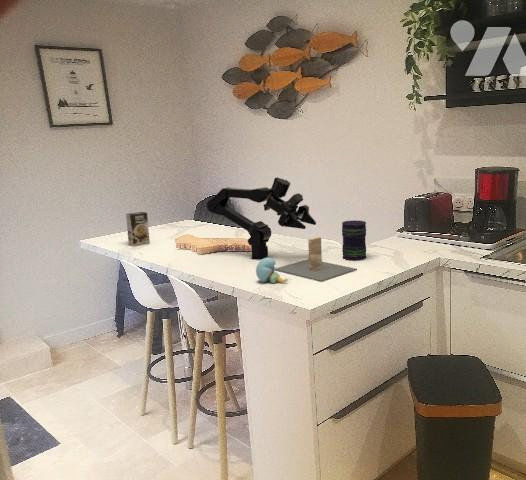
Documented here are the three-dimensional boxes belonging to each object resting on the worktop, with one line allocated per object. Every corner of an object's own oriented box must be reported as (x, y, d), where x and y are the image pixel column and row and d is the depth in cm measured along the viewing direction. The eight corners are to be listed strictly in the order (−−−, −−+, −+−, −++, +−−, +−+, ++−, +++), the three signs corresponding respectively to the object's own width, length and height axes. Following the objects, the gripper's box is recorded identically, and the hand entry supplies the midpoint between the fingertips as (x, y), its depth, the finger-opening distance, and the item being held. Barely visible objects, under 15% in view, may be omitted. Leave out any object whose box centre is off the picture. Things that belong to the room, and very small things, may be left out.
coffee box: (133, 246, 255) (130, 214, 252) (128, 244, 260) (125, 213, 257) (150, 243, 261) (147, 212, 257) (144, 241, 266) (141, 211, 262)
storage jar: (347, 254, 219) (347, 219, 216) (369, 256, 214) (369, 221, 211) (338, 259, 210) (338, 224, 207) (361, 261, 205) (361, 225, 202)
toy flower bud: (283, 263, 176) (253, 258, 182) (282, 288, 178) (252, 282, 184) (292, 258, 182) (262, 254, 188) (291, 282, 184) (262, 277, 190)
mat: (273, 270, 199) (273, 268, 199) (309, 259, 212) (309, 258, 212) (321, 281, 181) (321, 280, 181) (356, 270, 194) (356, 268, 194)
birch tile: (309, 269, 195) (308, 239, 193) (318, 267, 198) (317, 237, 196) (312, 270, 194) (312, 239, 191) (321, 268, 197) (321, 237, 195)
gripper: (275, 192, 199) (307, 212, 193) (298, 186, 214) (328, 205, 208) (265, 216, 204) (296, 236, 198) (288, 209, 219) (317, 228, 213)
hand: (310, 225), depth 204 cm, fingers open, 9 cm apart
